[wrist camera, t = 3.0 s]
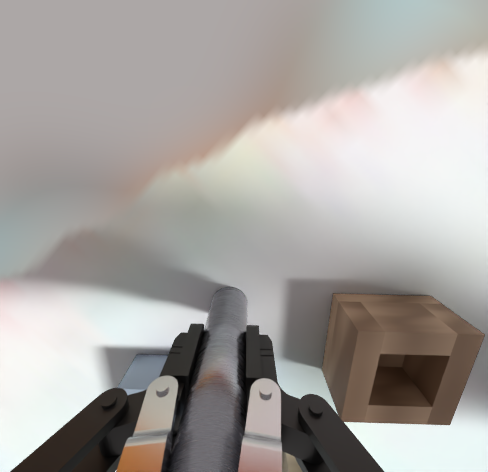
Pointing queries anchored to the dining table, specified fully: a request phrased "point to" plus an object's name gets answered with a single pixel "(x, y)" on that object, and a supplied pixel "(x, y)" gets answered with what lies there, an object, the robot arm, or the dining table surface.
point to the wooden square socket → (397, 358)
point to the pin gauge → (216, 392)
